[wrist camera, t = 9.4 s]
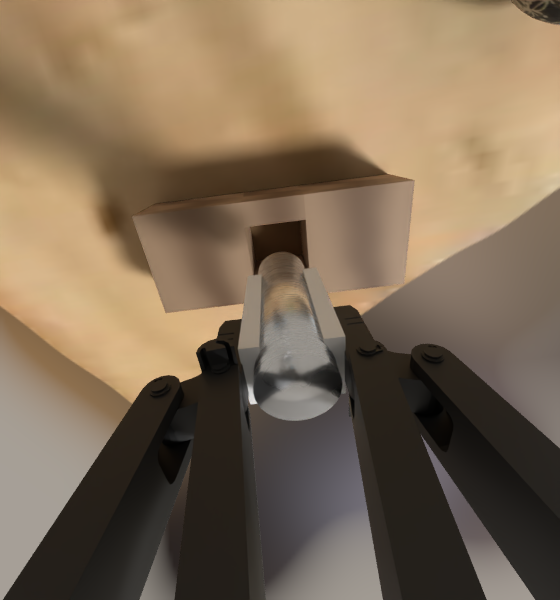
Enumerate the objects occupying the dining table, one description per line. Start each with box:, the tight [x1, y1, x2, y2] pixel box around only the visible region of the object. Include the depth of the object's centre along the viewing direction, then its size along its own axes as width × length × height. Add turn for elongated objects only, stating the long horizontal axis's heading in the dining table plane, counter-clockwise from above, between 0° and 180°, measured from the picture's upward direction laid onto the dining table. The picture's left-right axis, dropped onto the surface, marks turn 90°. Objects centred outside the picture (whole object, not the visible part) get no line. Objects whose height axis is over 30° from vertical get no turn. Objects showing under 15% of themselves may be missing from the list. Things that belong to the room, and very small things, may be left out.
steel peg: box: [253, 252, 342, 420], centre depth 14 cm, size 3×3×10 cm
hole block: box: [132, 174, 415, 313], centre depth 24 cm, size 20×8×5 cm, turn 97°
